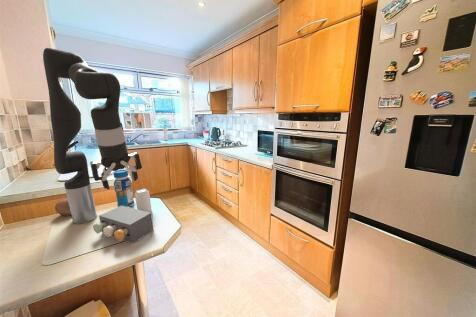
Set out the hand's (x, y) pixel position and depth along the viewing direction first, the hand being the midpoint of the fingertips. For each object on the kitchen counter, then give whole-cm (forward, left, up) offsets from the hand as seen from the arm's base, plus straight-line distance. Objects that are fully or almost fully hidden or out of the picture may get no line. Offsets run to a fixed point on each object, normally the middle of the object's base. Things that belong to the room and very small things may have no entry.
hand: (121, 184), depth 68 cm
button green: (-17, 0, -22) cm, 28 cm away
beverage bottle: (-35, +23, -25) cm, 49 cm away
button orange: (-4, 0, -22) cm, 23 cm away
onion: (-54, +5, -25) cm, 60 cm away
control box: (-11, +6, -25) cm, 28 cm away
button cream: (-11, 0, -22) cm, 25 cm away
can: (-18, +21, -25) cm, 38 cm away
